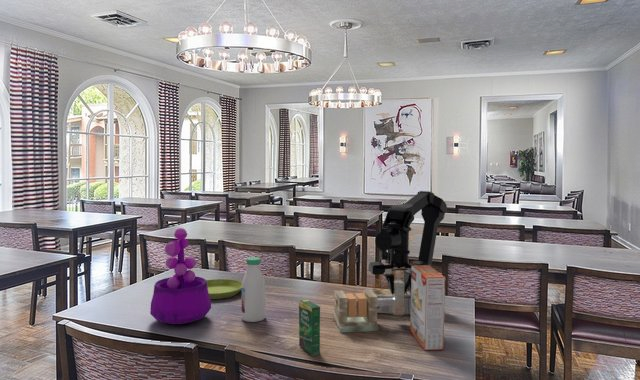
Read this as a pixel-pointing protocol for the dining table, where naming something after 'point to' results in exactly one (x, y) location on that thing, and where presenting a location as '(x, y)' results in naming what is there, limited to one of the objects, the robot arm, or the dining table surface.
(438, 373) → the dining table surface
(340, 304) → the frame
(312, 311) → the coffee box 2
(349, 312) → the block
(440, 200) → the robot arm
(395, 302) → the shaft
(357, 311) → the block
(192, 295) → the decorative plant
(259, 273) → the milk bottle
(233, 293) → the saucer
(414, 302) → the cracker box
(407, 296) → the coffee box
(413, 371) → the dining table surface
